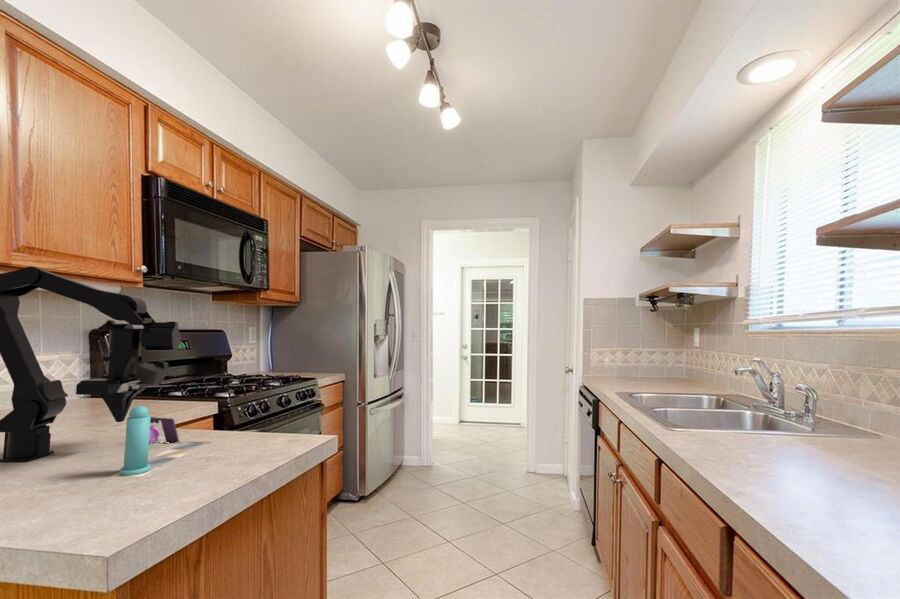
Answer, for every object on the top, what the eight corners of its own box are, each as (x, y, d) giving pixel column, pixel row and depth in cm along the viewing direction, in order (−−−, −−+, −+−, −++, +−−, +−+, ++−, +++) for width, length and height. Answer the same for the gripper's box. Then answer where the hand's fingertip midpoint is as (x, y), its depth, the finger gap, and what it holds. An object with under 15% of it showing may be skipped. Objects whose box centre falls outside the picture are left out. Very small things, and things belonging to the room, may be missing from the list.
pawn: (113, 475, 77) (118, 407, 78) (131, 467, 81) (135, 403, 82) (139, 475, 77) (144, 408, 78) (155, 467, 82) (160, 403, 83)
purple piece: (176, 417, 101) (144, 415, 102) (157, 429, 96) (124, 426, 98) (182, 442, 102) (150, 439, 104) (164, 455, 97) (131, 452, 99)
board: (90, 483, 75) (90, 479, 75) (176, 444, 101) (176, 441, 101) (137, 483, 75) (137, 478, 75) (210, 444, 101) (210, 441, 101)
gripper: (134, 353, 87) (129, 431, 86) (184, 349, 105) (181, 413, 104) (76, 353, 86) (70, 431, 85) (137, 349, 105) (133, 413, 104)
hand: (119, 421), depth 94 cm, fingers closed
